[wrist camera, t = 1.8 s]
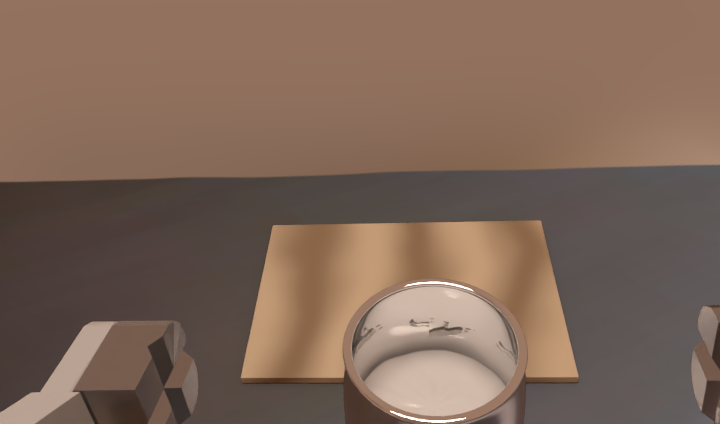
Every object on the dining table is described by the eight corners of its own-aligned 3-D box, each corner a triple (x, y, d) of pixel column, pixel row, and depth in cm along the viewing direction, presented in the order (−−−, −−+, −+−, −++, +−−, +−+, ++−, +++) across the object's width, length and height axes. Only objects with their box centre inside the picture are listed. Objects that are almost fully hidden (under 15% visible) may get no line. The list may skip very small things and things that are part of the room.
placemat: (242, 382, 42) (240, 377, 42) (274, 230, 53) (273, 225, 52) (577, 382, 41) (578, 377, 40) (540, 225, 51) (540, 220, 51)
